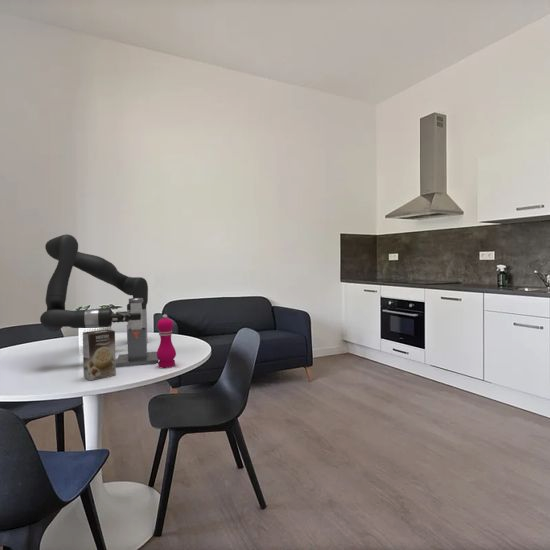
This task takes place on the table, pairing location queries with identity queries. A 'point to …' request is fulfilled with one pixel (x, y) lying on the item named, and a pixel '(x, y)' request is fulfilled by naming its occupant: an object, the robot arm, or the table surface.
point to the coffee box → (99, 354)
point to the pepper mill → (165, 343)
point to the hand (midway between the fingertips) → (141, 315)
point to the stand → (137, 350)
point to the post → (136, 312)
